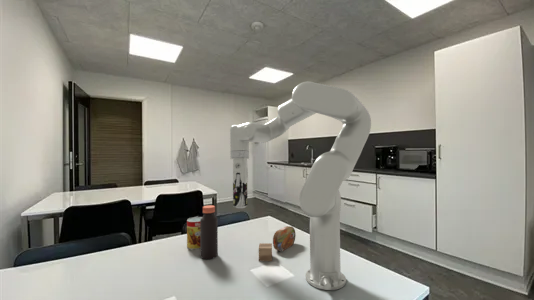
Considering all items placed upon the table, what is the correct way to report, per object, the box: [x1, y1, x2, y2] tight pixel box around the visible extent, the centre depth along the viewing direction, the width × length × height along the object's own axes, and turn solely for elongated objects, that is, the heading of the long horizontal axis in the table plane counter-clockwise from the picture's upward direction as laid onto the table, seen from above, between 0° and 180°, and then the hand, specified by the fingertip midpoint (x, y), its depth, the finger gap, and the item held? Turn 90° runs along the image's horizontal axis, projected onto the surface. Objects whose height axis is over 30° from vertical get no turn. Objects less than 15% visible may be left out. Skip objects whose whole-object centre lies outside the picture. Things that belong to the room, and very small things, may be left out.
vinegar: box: [199, 204, 219, 260], centre depth 95 cm, size 7×7×20 cm
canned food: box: [186, 216, 203, 250], centre depth 106 cm, size 8×8×12 cm
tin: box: [272, 226, 297, 252], centre depth 103 cm, size 15×3×8 cm, turn 143°
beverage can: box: [232, 180, 249, 209], centre depth 94 cm, size 6×6×12 cm
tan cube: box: [258, 242, 273, 262], centre depth 92 cm, size 5×5×5 cm
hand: (240, 200), depth 94 cm, fingers closed on beverage can, 3 cm apart
